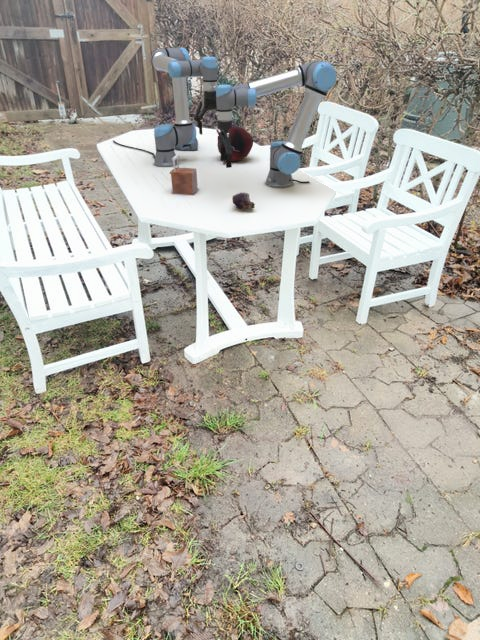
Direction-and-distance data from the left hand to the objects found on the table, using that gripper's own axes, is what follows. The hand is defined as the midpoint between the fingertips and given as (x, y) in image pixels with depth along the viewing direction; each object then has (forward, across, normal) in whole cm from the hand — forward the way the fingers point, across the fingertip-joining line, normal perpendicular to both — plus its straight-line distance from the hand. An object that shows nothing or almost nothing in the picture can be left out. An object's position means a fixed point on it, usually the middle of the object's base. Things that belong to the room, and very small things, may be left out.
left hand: (212, 132), depth 250 cm
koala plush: (+26, +9, +78) cm, 83 cm away
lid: (+16, -22, -12) cm, 30 cm away
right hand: (+10, -4, -27) cm, 29 cm away
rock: (+26, -5, -50) cm, 57 cm away
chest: (+26, -22, -12) cm, 36 cm away
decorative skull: (+26, +29, +36) cm, 53 cm away
